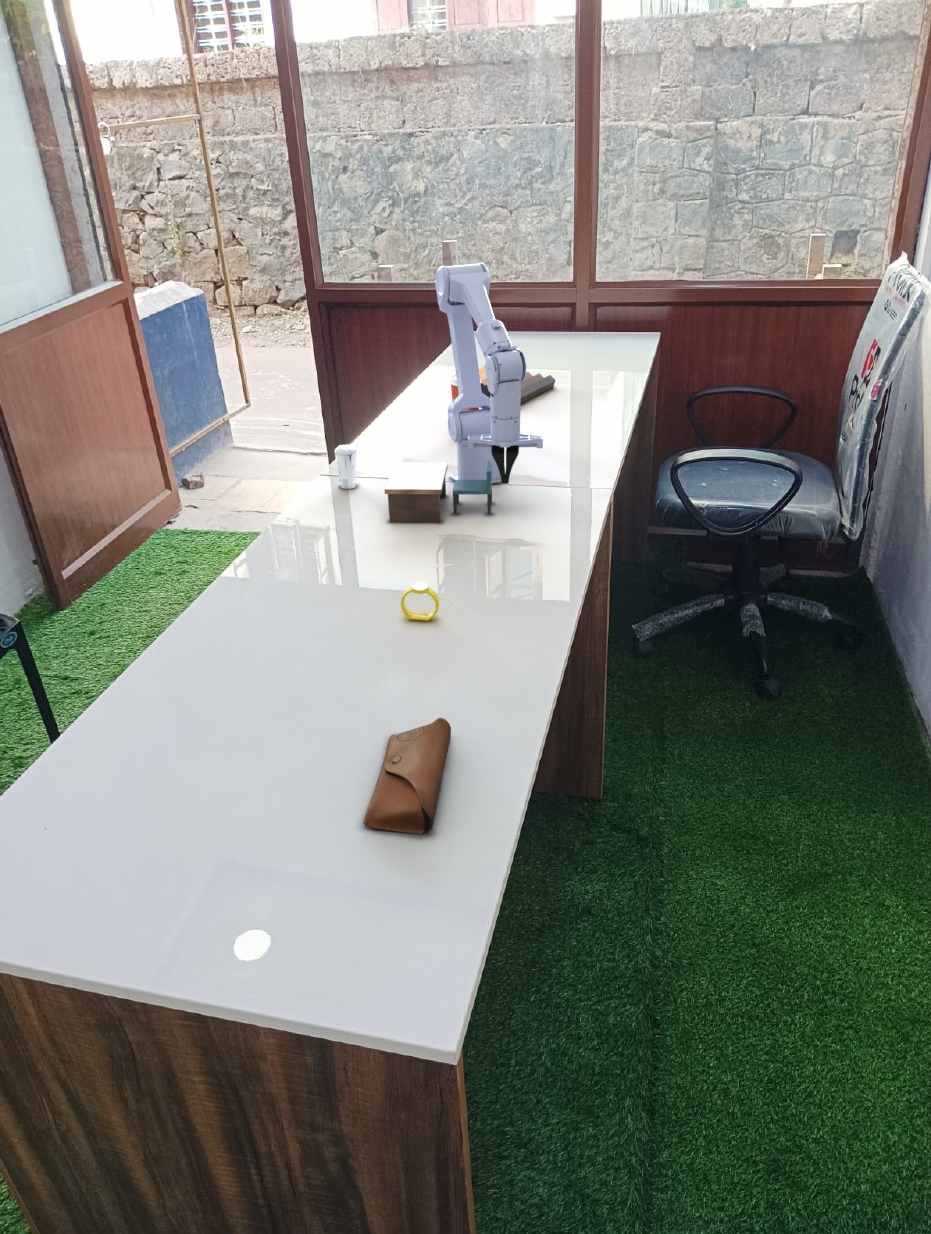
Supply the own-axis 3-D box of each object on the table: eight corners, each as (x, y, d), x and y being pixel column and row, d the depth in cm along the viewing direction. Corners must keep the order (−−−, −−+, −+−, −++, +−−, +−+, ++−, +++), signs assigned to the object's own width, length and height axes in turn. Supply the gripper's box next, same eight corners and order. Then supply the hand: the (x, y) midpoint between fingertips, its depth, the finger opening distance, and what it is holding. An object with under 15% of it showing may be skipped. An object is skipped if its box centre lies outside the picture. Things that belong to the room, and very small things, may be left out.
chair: (492, 502, 188) (491, 460, 183) (490, 514, 182) (490, 471, 178) (455, 502, 188) (454, 460, 184) (453, 514, 183) (452, 471, 178)
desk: (448, 495, 192) (447, 462, 189) (442, 524, 179) (441, 489, 176) (396, 494, 193) (394, 462, 189) (386, 523, 180) (384, 489, 176)
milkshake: (358, 491, 195) (355, 446, 190) (335, 489, 196) (330, 444, 191) (365, 483, 199) (361, 438, 194) (341, 482, 200) (337, 437, 195)
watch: (400, 622, 146) (398, 589, 143) (403, 613, 148) (401, 581, 145) (437, 623, 145) (436, 590, 142) (440, 615, 148) (438, 582, 145)
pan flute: (511, 410, 243) (555, 387, 261) (511, 397, 241) (555, 375, 260) (434, 397, 255) (481, 376, 273) (433, 385, 253) (480, 364, 271)
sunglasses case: (386, 732, 120) (410, 697, 116) (433, 756, 121) (458, 722, 118) (360, 828, 104) (386, 790, 101) (414, 854, 105) (442, 817, 102)
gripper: (466, 421, 172) (467, 489, 179) (543, 421, 171) (541, 489, 178) (468, 410, 178) (469, 476, 185) (543, 410, 177) (541, 476, 184)
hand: (505, 481), depth 182 cm, fingers closed
